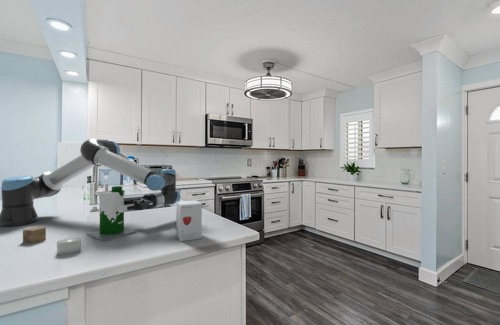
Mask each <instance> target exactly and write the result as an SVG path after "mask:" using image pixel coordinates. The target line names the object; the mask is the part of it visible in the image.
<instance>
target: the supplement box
mask: <svg viewBox="0 0 500 325" xmlns="http://www.w3.org/2000/svg"><path fill="white" fill-rule="evenodd" d="M202 204H203V203H202V202H200V201H199V200H197V199H196V200H195V199H194V200H180V201H179V202H177V203H176V212H175V214H176V216H175V218H176V221H175V222H176V223H175V224H176V225H175V226H176V227H175V229H176V230H175V231H176V232H175V235H176V237H177V238H178V240H179V241H180V242H185V241H192V240H199V239H202V229H203V228H202V223H203V222H202V221H203V220H202V217H203V216H202V214H203V212H202V211H203V209H202V208H203V207H202V206H203V205H202Z"/></svg>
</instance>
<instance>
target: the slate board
mask: <svg viewBox="0 0 500 325" xmlns="http://www.w3.org/2000/svg"><path fill="white" fill-rule="evenodd" d="M136 233H137V230H135V229H131V228H128V227H125V226H124V230H122V231H121V232H119V233H118V234H100V229H99V230H94V231H91V232H87V234H86V235H87V236H88V237H91V238H94V239H96V240H99V241H101V242H107V241H111V240H114V239H118V238H121V237H125V236H128V235H133V234H136Z"/></svg>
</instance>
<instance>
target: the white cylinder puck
mask: <svg viewBox="0 0 500 325" xmlns="http://www.w3.org/2000/svg"><path fill="white" fill-rule="evenodd" d="M80 251H82V238H81V237H77V236H74V237H68V238H67V237H66V238H63V239H60V240H58V241H57V242H56V254H57V255H59V256H60V255H61V256H67V255H73V254H75V253H78V252H80Z"/></svg>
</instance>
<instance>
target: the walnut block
mask: <svg viewBox="0 0 500 325" xmlns="http://www.w3.org/2000/svg"><path fill="white" fill-rule="evenodd" d="M46 230H47V228H46V226H32V227H29V228H24V229H22V243H25V244H26V243H27V244H36V243H39V242H41V241H44V239H45V240H47V234H46V233H47V232H46Z"/></svg>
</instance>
